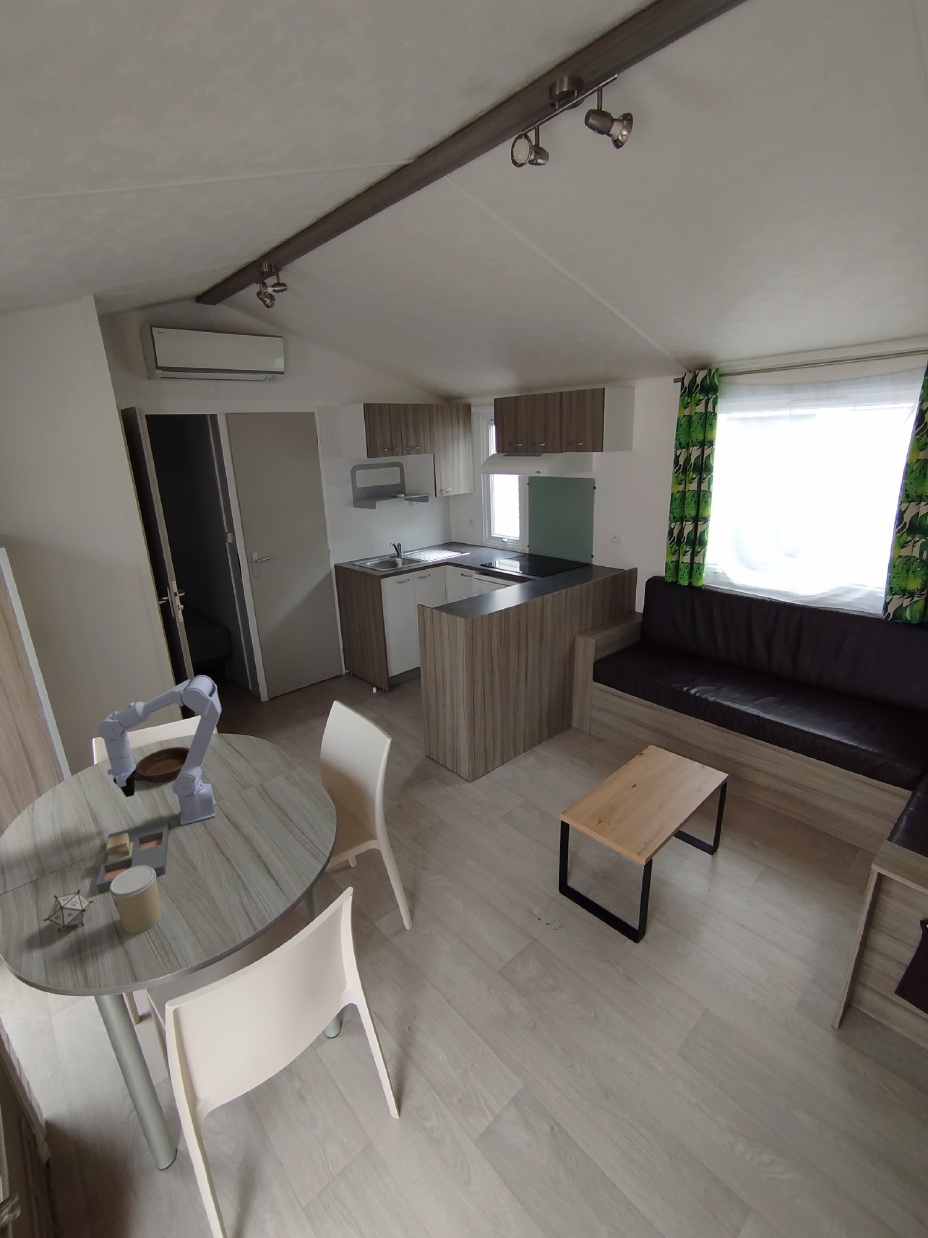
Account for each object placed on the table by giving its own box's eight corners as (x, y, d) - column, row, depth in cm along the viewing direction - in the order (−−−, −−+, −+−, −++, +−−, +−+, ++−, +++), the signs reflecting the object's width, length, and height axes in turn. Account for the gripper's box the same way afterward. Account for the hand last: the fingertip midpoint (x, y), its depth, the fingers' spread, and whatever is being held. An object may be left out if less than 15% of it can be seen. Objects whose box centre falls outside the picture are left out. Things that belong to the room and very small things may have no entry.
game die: (78, 941, 132) (61, 935, 124) (47, 926, 132) (28, 919, 124) (106, 902, 137) (91, 894, 129) (75, 888, 138) (59, 879, 130)
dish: (130, 771, 194) (127, 758, 193) (199, 751, 205) (196, 739, 204) (132, 796, 180) (129, 782, 179) (206, 774, 191) (203, 761, 189)
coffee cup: (131, 906, 137) (121, 866, 133) (171, 902, 137) (161, 862, 134) (112, 938, 128) (100, 896, 124) (154, 934, 128) (144, 892, 125)
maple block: (130, 845, 154) (127, 832, 153) (129, 855, 150) (126, 842, 149) (111, 850, 152) (108, 838, 151) (110, 861, 148) (106, 848, 147)
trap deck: (169, 826, 165) (167, 819, 164) (165, 873, 147) (163, 865, 146) (110, 841, 159) (108, 834, 159) (98, 893, 141) (96, 885, 140)
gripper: (107, 745, 165) (117, 785, 169) (99, 770, 152) (111, 813, 156) (135, 740, 168) (144, 779, 172) (129, 764, 155) (139, 806, 159)
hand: (130, 795), depth 164 cm, fingers closed
